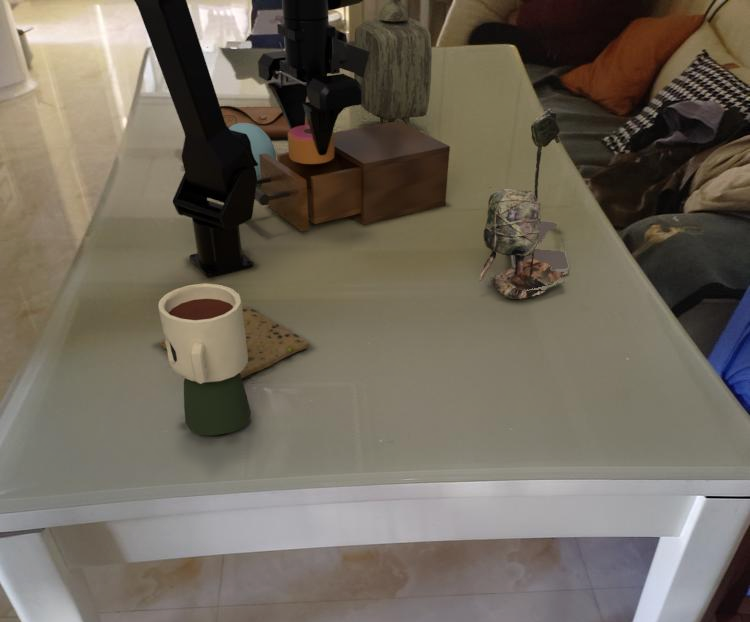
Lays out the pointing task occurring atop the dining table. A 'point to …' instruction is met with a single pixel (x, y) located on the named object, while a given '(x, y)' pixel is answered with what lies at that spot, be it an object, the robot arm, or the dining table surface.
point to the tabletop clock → (395, 65)
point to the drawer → (309, 189)
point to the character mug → (208, 355)
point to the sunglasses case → (259, 119)
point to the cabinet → (395, 169)
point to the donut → (307, 147)
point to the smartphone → (547, 251)
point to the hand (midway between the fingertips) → (311, 147)
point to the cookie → (265, 342)
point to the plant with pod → (520, 226)
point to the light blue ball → (256, 142)
